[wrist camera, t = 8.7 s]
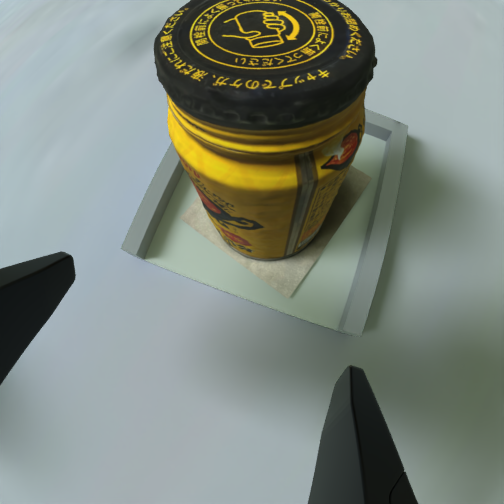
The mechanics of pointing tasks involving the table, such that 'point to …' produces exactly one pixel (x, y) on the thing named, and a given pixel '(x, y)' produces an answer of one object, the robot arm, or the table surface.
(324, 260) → the holder
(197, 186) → the condiment
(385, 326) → the table surface
